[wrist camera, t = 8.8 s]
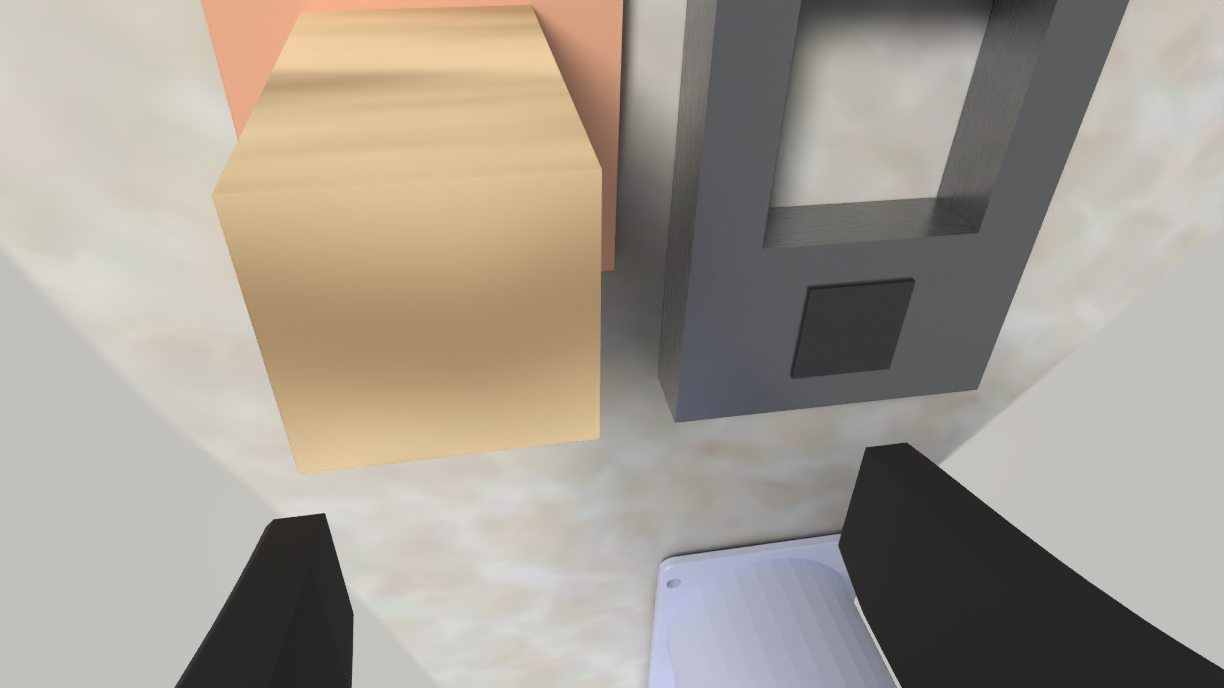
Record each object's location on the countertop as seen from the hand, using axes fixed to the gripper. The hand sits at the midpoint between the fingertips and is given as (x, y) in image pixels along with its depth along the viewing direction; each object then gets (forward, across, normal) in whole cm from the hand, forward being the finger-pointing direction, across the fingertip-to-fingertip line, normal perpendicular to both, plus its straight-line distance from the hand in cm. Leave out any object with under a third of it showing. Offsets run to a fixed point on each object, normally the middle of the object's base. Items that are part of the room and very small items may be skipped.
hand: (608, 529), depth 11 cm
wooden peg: (+10, +2, -2) cm, 10 cm away
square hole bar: (+10, -8, -2) cm, 13 cm away
